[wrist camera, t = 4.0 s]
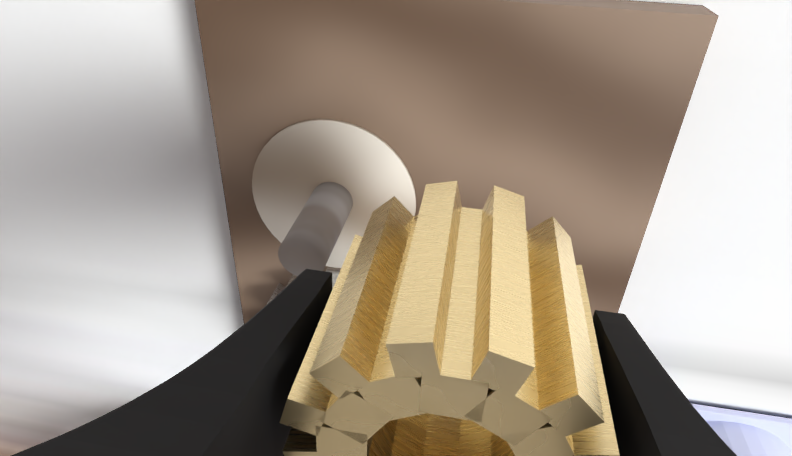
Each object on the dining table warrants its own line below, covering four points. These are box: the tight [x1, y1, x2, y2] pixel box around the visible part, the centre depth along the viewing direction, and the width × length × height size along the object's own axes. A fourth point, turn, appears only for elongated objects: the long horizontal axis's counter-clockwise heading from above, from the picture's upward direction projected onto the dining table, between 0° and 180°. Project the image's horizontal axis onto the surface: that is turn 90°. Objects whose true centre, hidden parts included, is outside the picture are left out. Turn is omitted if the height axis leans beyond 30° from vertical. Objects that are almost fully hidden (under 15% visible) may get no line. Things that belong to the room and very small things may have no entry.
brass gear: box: [280, 181, 620, 456], centre depth 11 cm, size 6×6×5 cm
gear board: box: [195, 0, 718, 324], centre depth 20 cm, size 18×16×6 cm
